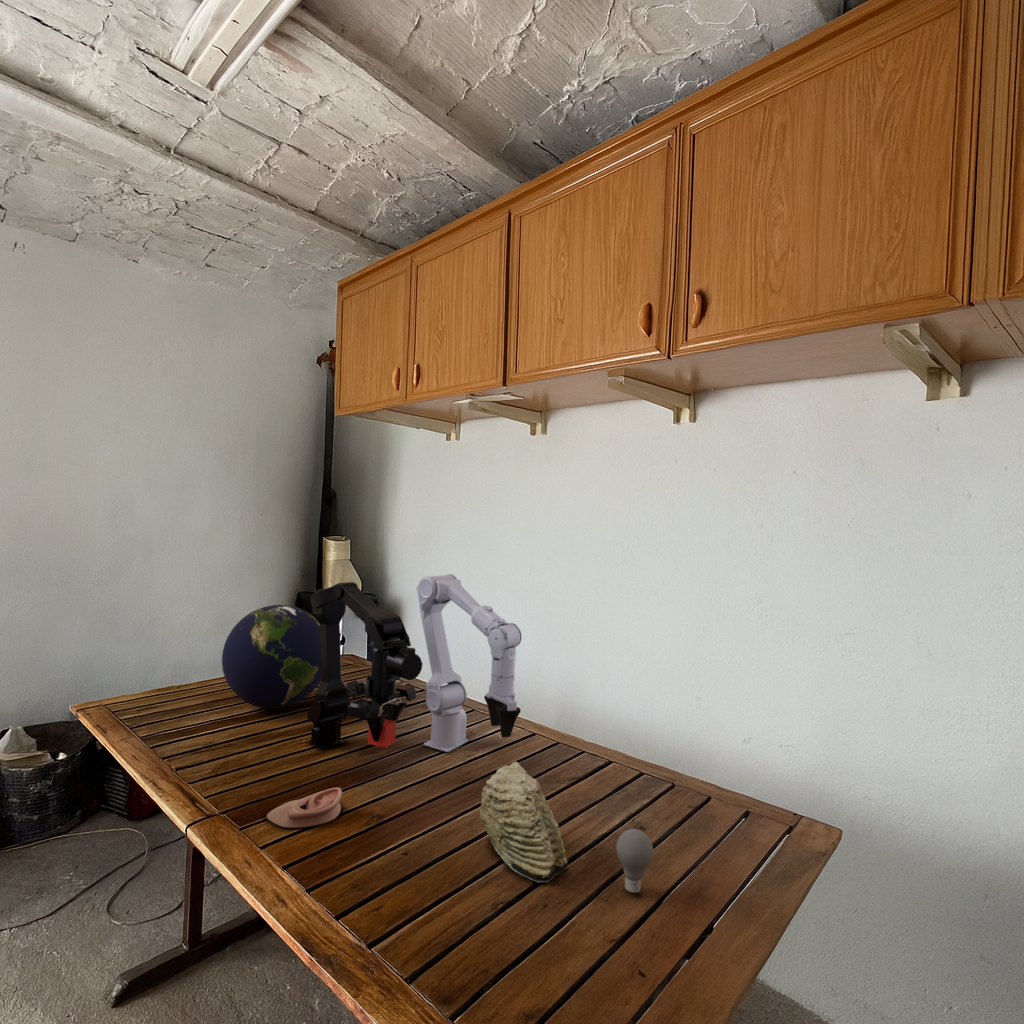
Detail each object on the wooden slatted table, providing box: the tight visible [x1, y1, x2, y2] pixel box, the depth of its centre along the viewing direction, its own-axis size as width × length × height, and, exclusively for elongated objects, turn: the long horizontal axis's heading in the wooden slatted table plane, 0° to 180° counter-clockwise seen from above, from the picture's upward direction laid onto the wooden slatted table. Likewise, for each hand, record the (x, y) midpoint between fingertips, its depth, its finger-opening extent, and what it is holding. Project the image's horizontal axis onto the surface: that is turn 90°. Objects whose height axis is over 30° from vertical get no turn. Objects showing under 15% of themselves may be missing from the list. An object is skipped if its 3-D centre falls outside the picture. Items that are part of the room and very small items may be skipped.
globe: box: [221, 604, 321, 709], centre depth 188 cm, size 30×30×30 cm
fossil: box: [479, 761, 569, 883], centre depth 114 cm, size 9×18×15 cm, turn 46°
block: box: [367, 719, 397, 749], centre depth 146 cm, size 4×5×5 cm
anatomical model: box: [266, 786, 343, 829], centre depth 126 cm, size 13×4×12 cm
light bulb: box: [615, 828, 654, 894], centre depth 106 cm, size 6×6×10 cm
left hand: (381, 737), depth 146 cm, fingers closed on block, 4 cm apart
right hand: (500, 730), depth 153 cm, fingers open, 7 cm apart
